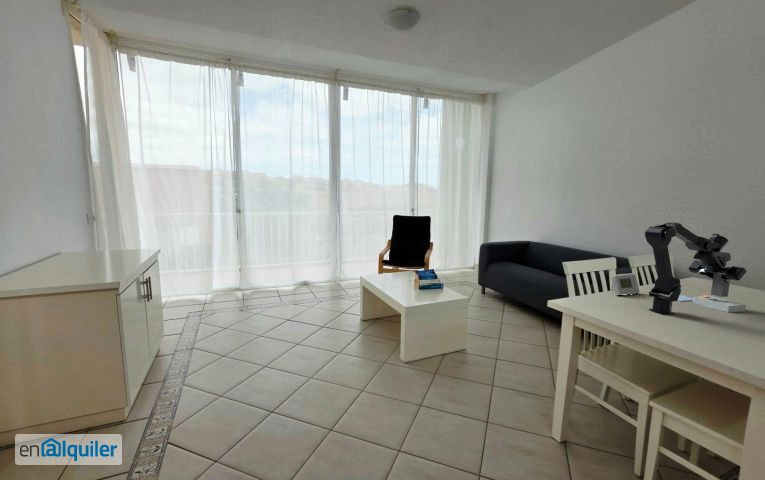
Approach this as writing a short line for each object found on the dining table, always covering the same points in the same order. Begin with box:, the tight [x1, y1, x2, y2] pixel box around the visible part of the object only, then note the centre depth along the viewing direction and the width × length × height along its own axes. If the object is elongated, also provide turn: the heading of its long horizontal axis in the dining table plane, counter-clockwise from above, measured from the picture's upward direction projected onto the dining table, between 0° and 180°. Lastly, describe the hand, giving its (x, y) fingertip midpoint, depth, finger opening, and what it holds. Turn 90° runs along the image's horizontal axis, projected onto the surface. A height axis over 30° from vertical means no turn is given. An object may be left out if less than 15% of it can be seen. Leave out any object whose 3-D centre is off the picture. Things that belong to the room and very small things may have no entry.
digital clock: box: [610, 273, 640, 295], centre depth 171 cm, size 16×9×11 cm, turn 96°
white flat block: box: [691, 294, 747, 313], centre depth 151 cm, size 10×14×4 cm
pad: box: [662, 294, 693, 303], centre depth 164 cm, size 10×10×1 cm
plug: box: [710, 266, 731, 298], centre depth 150 cm, size 4×4×14 cm
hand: (723, 281), depth 150 cm, fingers closed on plug, 4 cm apart
